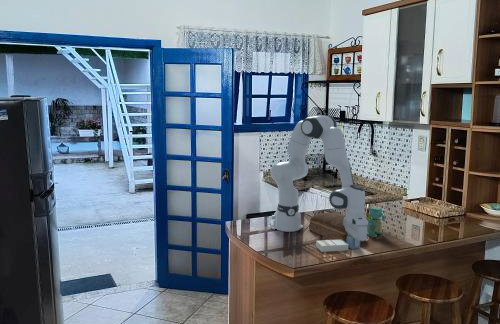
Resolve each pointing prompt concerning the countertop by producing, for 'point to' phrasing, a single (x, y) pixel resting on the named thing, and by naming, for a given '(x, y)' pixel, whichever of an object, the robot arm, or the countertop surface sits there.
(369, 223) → the toy
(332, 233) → the bread
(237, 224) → the countertop surface
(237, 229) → the countertop surface
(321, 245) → the white flat box
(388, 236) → the countertop surface
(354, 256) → the countertop surface
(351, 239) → the light blue cube
